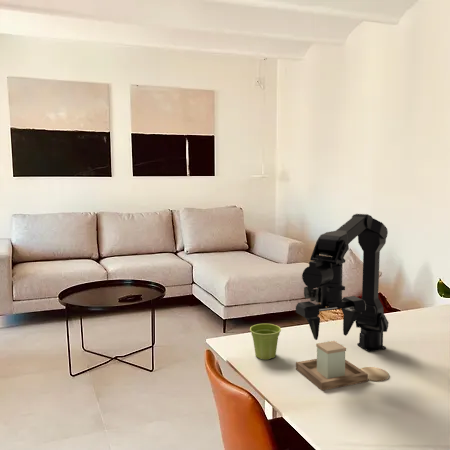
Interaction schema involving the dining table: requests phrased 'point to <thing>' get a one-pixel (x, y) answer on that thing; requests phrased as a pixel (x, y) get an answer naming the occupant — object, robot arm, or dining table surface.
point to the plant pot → (265, 340)
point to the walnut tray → (351, 377)
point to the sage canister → (331, 359)
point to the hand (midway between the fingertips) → (330, 337)
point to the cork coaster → (375, 373)
